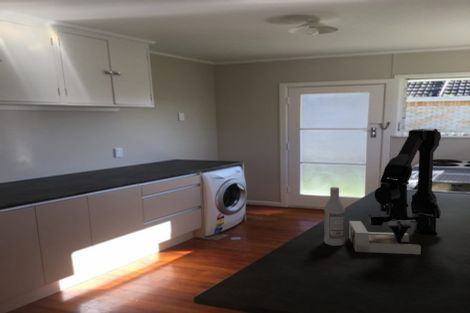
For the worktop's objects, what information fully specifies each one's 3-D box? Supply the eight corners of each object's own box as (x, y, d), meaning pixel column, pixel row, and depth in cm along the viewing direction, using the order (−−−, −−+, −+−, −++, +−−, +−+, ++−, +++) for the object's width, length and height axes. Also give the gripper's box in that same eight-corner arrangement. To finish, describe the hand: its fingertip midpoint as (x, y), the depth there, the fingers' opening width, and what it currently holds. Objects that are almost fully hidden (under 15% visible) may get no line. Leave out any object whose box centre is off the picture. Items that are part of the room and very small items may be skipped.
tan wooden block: (391, 243, 123) (391, 235, 123) (398, 251, 115) (398, 243, 115) (353, 242, 125) (353, 234, 125) (357, 250, 117) (357, 241, 117)
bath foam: (348, 244, 122) (349, 188, 120) (333, 247, 119) (333, 190, 117) (335, 238, 128) (335, 185, 127) (320, 241, 125) (320, 187, 124)
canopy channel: (406, 240, 125) (407, 222, 125) (420, 254, 111) (421, 234, 111) (349, 238, 129) (349, 220, 128) (355, 251, 115) (356, 232, 114)
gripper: (418, 194, 124) (418, 236, 125) (364, 194, 127) (364, 236, 129) (430, 200, 113) (430, 247, 115) (370, 201, 116) (371, 246, 118)
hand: (398, 244), depth 119 cm, fingers closed
